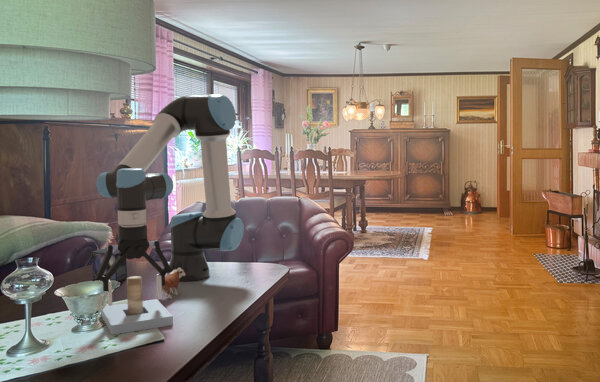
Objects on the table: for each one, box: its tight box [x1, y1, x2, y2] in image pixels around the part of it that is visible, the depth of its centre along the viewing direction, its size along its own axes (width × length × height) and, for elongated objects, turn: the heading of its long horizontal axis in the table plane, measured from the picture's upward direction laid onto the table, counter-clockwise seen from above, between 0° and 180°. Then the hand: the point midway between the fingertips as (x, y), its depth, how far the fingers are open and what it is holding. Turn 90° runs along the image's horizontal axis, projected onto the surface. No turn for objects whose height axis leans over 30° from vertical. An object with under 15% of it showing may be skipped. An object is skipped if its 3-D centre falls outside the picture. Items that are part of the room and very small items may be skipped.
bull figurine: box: [158, 268, 186, 301], centre depth 182 cm, size 4×13×8 cm, turn 161°
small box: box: [91, 247, 128, 282], centre depth 203 cm, size 11×6×10 cm, turn 68°
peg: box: [126, 275, 144, 316], centre depth 158 cm, size 4×4×12 cm
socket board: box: [100, 298, 174, 336], centre depth 158 cm, size 18×16×2 cm
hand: (135, 301), depth 158 cm, fingers open, 13 cm apart
